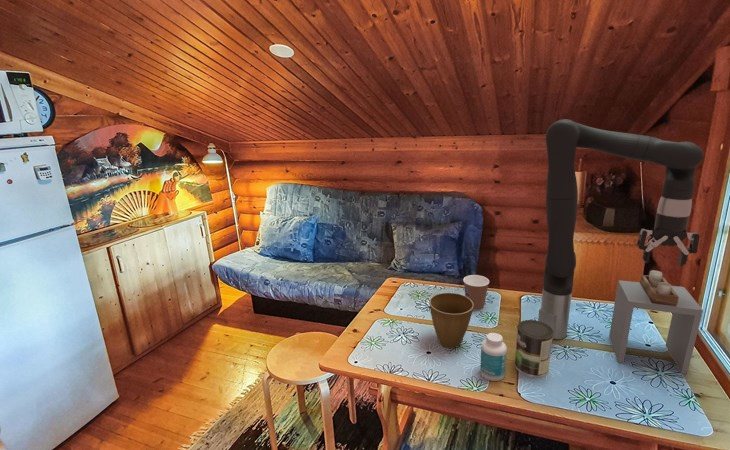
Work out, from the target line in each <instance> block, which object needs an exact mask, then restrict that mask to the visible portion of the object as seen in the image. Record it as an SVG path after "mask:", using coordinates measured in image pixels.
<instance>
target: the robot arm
mask: <svg viewBox="0 0 730 450" xmlns="http://www.w3.org/2000/svg"><path fill="white" fill-rule="evenodd" d="M545 145H546V152H547V153H546V154H547V162H548V163H547V166H548V168H547V169H548V170H547V178H546V189H545V190H546V191H545V213H546V224H547V231H548V234H547V235H548V242H547V243H548V245H547V250H546V251H547V252H546V255H545V263H544V264H545V265H544V275H543V284H542V295H541V305H540V309H538V319H537V321H540V322H543V323H545V324H547V325H549V326H550V327H551V328H552V329H553V331H554V334H553V338H552V341H553V340H562V339H565V338H566V337H567V334H568V326H569V320H570V311H571V302H572V297H573V296H572V295H573V289H574V288H573V287H574V275H575V269H576V267H577V266H576V265H577V255H576V252H575V246H574V245H575V244H574V240H575V239H574V236H575V229H576V224H577V223H576V222H577V218H578V217H577V215H578V206H579V205H578V204H579V203H578V202H579V200H578V198H579V197H578V196H579V193H578V191H579V190H578V181H577V176H576V170H575V159H576V150H577V148H580V149H581V148H582V149H589V150H595V151H599V152H602V153H606V154H609V155H613V156H617V157H621V158H625V159H630V160H636V161H639V162H640V161H641V162H648V163H653V164H658V165H660V166H664V167H665V174H664V181H663V184H662V190H661V195H660V199H659V201H658V204H657V210H656V215H655V220H654V221H655V222H654V227H653V228H652V229H651V230H649V229H645V228H640V231H639V235H638V239H637V243H636V247H637V248H638V249H639V250H642V251H643V252H642V256H641V258H642V261H643V262H644V263H645V264H649V263H650V258H651V251H652V250H653V249H654V248H657V247H658V246H659V245H661V246H663V247H664V246H665V247H666V246H670V247H675V246H676V247H678V249H679V250H680V252H679V256H678V259H677V265H678V266H679V267H684V265H686V264H687V261H688V256H689V255H691V254H697V253H698V249H699V241H700V234H698V233H697V232H696V231H692V232H687V229H688V225H689V222H690V221H689V220H690V215H691V212H692V207H693V205H692V202H693V201H692V200H693V196H694V193H695V192H694V191H695V187H696V186H695V185H696V184H695V183H696V181H695V171H696V168H697V167H698V166H699V165H700V164H701V163H702V162H703V160H704V152H703V150H702V149H701V147H700V146H698V145H697V144H695V143H694V142H691V141H685V140H684V141H680V142H676V141H671V140H663V139H660V138H658V137H655V136H649V135H642V134H636V133H626V132H621V131H613V130H607V129H606V130H605V129H601V128H597V127H592V126H589V125H586V124H585V125H584V124H582V123H578V122H576V121H574V120H572V119H566V118H564V119H563V118H562V119H559V120H557V121H554V122H553V123H552V124H551V125H549V127H548V128H547V130H546V133H545ZM650 235H652V238H650V240H649V241H648V242H647V243H646V240H647V238H648V237H650ZM686 238H687V239H688V240H689V246H688V247H686V246H685V245H684V242H682V241H684V240H685V239H686ZM645 243H646V244H645Z"/></svg>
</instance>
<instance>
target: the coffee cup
mask: <svg viewBox="0 0 730 450" xmlns="http://www.w3.org/2000/svg"><path fill="white" fill-rule="evenodd" d="M462 281H463V286H464V287H463V288H464V296H466V297H468V298H469V299H471V301H472V302H473V310H472V311H481V310H483V309H484V307H485V305H486V300H487V299H486V298H487V294H488V293H487V292H488V289H489V284H490V280H489V279H488V278H487V277H485V276H483V275H479V274H471V275H466V276H464V278H463V280H462Z"/></svg>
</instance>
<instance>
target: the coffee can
mask: <svg viewBox="0 0 730 450" xmlns="http://www.w3.org/2000/svg"><path fill="white" fill-rule="evenodd" d="M516 330H517V333H516V343H515V344H516V345H515V354H514V355H515V357H514V367H515V368H516V370H517V371H518V372H519V373H521V374H523V375H524V376H526V377H527V376H528V377H530V378H543V377H546V376H547V375H548V374H549V372H550V361H551V354H552V347H553V346H552V345H553V340H552V338H553V334H554V331H553V329H552V328H551V327H550V326H549V325H547V324H545V323H543V322H540V321H538V320H534V319H526V320H525V319H524V320H522V321H520V322H518V323H517V329H516Z"/></svg>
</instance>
